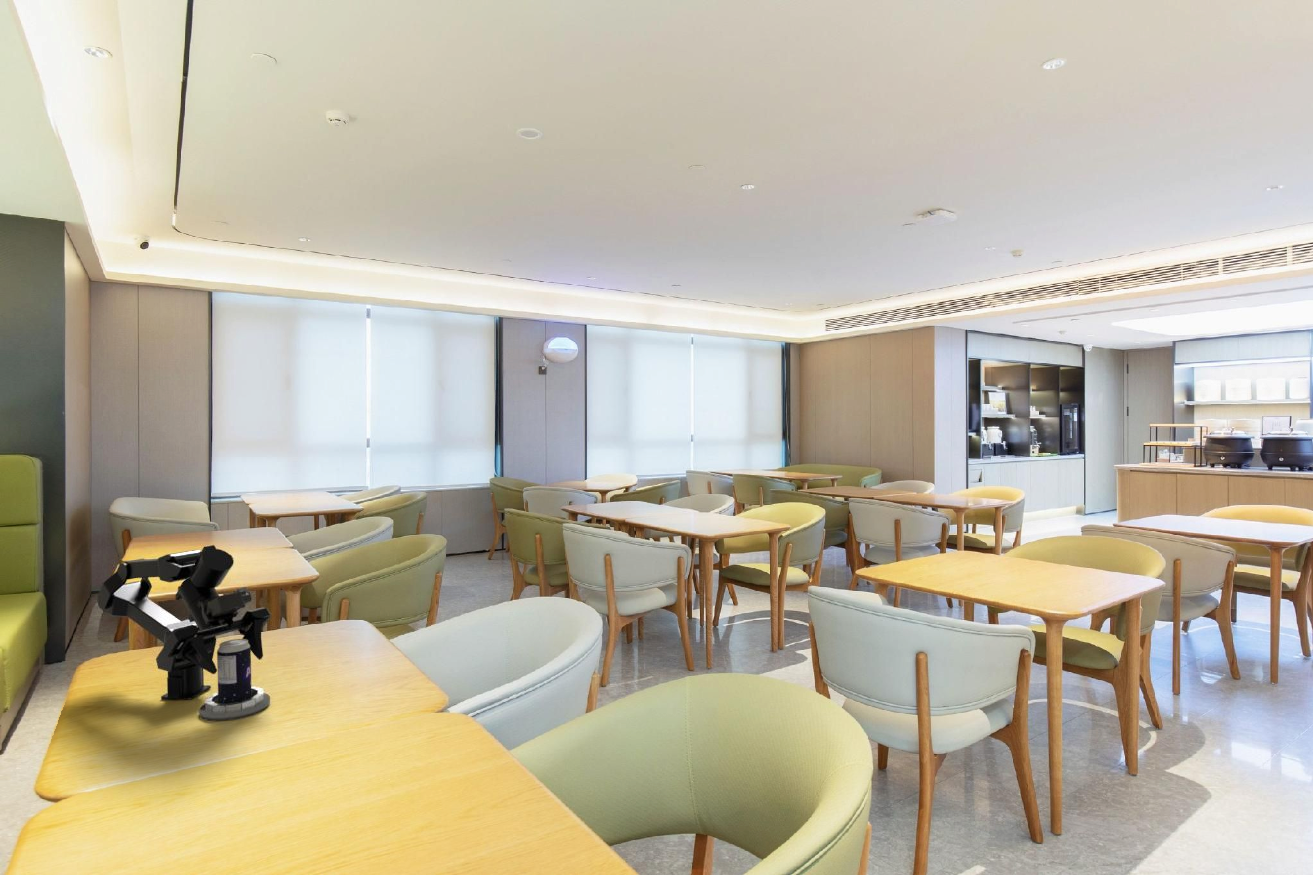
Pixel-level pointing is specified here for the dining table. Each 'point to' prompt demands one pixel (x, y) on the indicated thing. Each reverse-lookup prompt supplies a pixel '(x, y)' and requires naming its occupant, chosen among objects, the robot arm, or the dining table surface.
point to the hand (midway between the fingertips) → (238, 665)
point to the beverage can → (234, 671)
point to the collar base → (236, 714)
